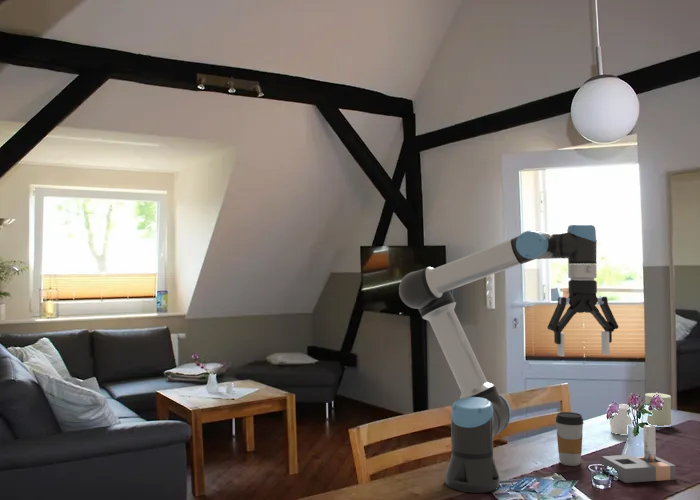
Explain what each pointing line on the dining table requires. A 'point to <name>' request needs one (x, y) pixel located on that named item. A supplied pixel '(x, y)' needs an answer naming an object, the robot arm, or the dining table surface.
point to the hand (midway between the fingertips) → (583, 355)
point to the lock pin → (649, 444)
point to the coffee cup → (569, 437)
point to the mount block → (640, 468)
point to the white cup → (620, 420)
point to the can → (660, 416)
